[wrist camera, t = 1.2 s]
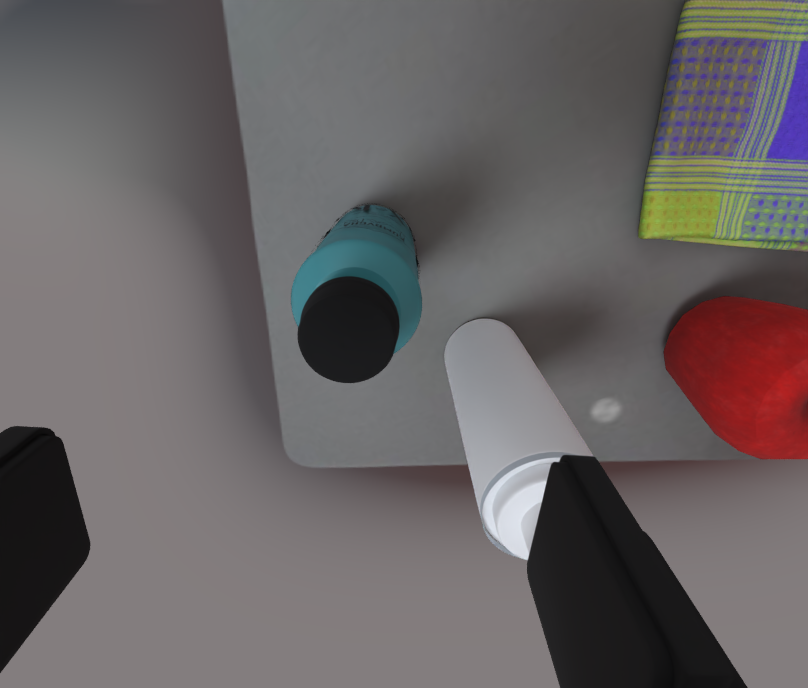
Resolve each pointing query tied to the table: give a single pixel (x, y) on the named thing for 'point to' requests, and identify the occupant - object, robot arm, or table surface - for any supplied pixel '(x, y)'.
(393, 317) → the beverage bottle
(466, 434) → the spray bottle
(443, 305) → the table surface
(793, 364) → the apple
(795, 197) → the dish towel
